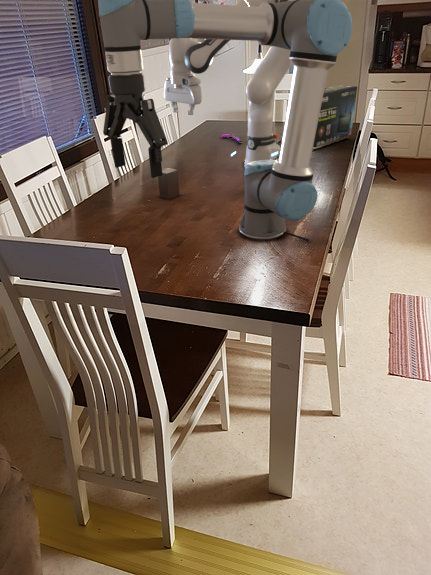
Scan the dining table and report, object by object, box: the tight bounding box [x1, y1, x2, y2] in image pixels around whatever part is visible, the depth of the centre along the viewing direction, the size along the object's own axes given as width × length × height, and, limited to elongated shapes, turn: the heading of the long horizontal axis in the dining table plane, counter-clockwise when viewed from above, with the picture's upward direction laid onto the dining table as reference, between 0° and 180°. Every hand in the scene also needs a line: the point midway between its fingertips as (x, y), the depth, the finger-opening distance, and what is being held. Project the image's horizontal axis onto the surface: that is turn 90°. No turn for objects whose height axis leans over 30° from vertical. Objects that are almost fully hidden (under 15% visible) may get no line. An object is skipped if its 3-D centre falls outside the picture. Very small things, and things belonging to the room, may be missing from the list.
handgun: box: [220, 133, 243, 145], centre depth 256 cm, size 21×8×2 cm, turn 11°
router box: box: [313, 84, 358, 147], centre depth 238 cm, size 36×11×27 cm, turn 134°
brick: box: [157, 167, 180, 201], centre depth 180 cm, size 5×6×10 cm
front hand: (138, 171), depth 109 cm, fingers open, 13 cm apart
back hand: (183, 113), depth 199 cm, fingers open, 8 cm apart
